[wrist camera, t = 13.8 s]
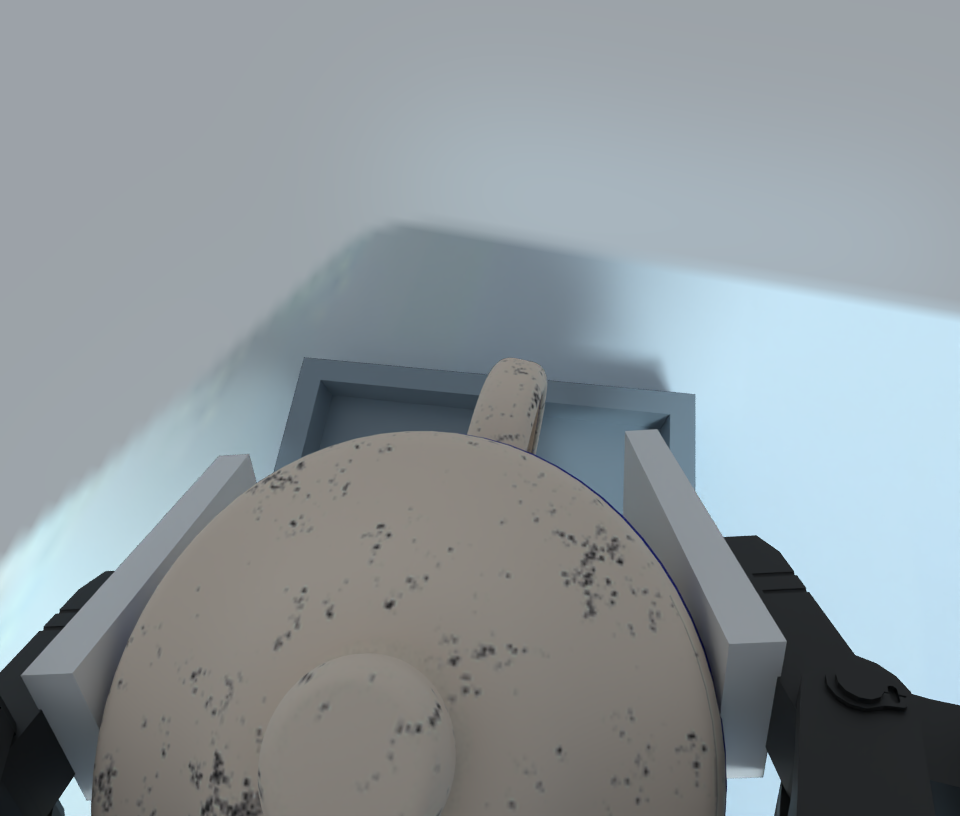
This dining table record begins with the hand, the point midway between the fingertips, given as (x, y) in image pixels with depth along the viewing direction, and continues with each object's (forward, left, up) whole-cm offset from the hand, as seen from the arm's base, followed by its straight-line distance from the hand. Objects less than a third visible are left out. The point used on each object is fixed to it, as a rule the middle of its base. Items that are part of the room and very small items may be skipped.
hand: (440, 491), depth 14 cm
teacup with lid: (-1, +3, -4) cm, 5 cm away
